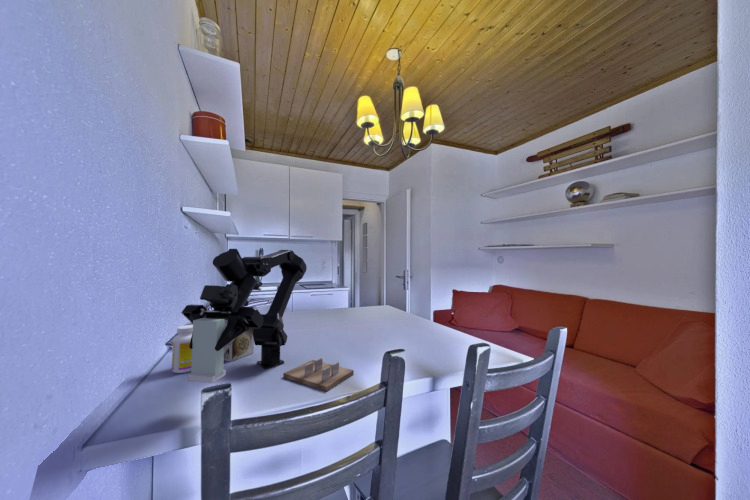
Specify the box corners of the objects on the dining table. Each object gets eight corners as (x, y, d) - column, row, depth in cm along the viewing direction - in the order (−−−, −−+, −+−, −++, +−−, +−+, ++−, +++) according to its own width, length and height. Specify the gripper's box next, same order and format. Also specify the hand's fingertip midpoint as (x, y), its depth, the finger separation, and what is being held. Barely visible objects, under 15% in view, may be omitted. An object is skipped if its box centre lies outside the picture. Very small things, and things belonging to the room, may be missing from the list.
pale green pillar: (202, 373, 62) (204, 317, 63) (225, 375, 61) (227, 318, 62) (188, 380, 58) (190, 321, 59) (212, 382, 57) (214, 322, 58)
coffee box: (241, 350, 97) (242, 306, 98) (254, 353, 95) (255, 307, 96) (218, 359, 89) (219, 310, 90) (231, 362, 87) (233, 312, 87)
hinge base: (283, 377, 75) (283, 362, 76) (312, 363, 86) (313, 350, 86) (326, 391, 67) (327, 374, 68) (353, 374, 78) (353, 359, 78)
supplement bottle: (203, 366, 83) (205, 324, 83) (184, 375, 76) (185, 330, 77) (186, 364, 84) (187, 323, 85) (165, 372, 78) (167, 328, 78)
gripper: (189, 272, 66) (142, 327, 55) (258, 273, 63) (223, 332, 52) (212, 299, 74) (175, 353, 62) (274, 301, 71) (247, 358, 59)
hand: (203, 349), depth 59 cm, fingers closed on pale green pillar, 6 cm apart
